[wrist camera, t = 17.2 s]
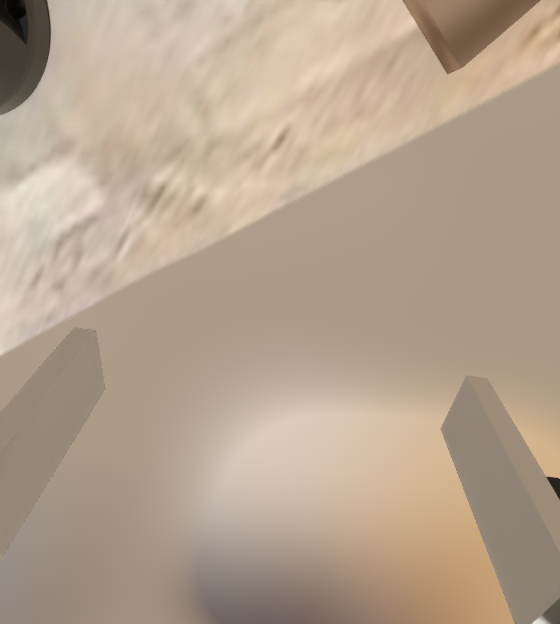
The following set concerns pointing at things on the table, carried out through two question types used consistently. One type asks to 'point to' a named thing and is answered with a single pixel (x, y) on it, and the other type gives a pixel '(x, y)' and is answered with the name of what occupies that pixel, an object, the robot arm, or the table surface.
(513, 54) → the table surface
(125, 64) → the table surface
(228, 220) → the table surface
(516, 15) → the walnut plinth
